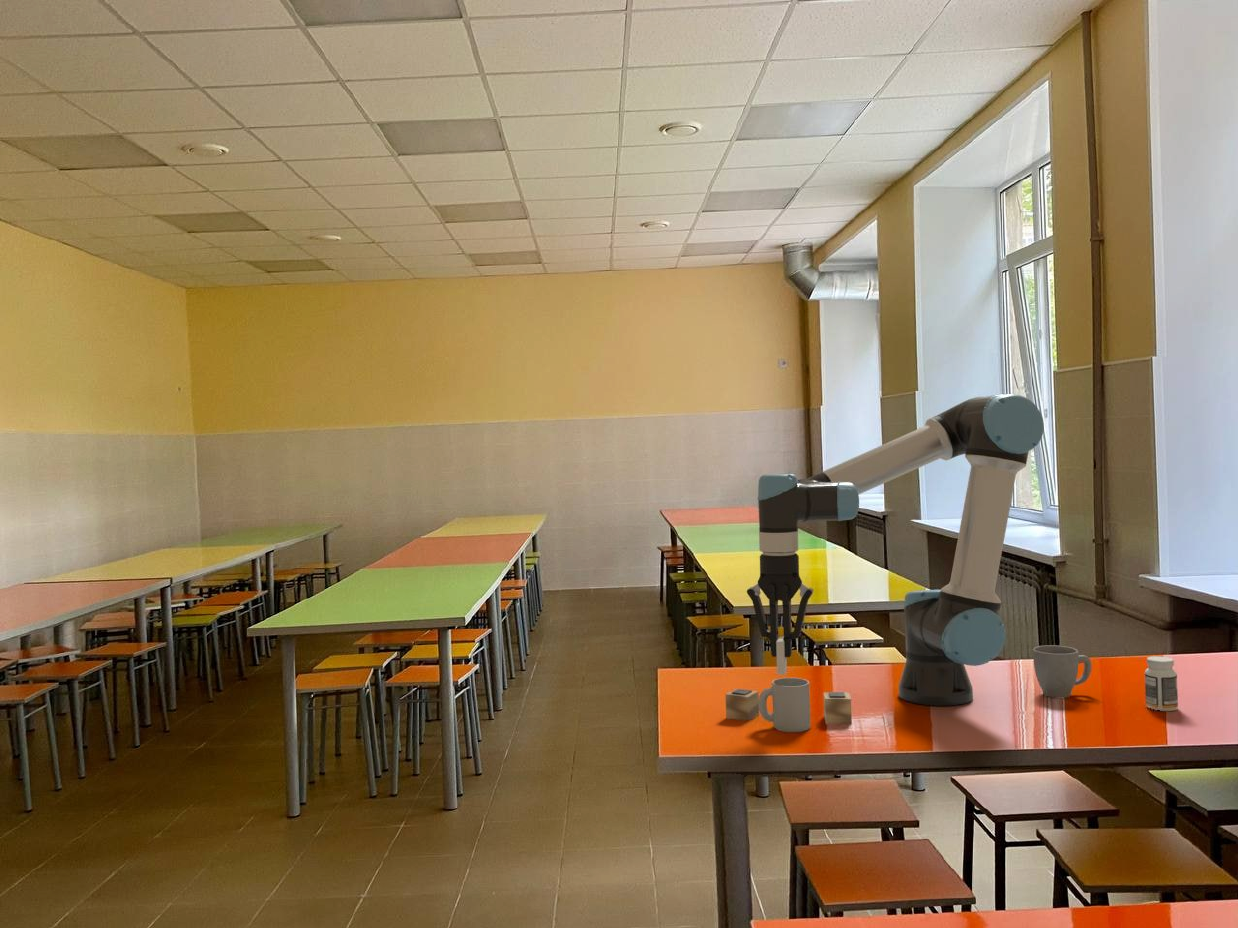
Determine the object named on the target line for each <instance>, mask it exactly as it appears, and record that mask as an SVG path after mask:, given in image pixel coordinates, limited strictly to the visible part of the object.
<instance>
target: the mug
mask: <svg viewBox="0 0 1238 928" xmlns="http://www.w3.org/2000/svg"><path fill="white" fill-rule="evenodd" d="M1032 657H1033V666H1034V667H1033V668H1034V672H1035V677H1036V681H1037V682H1038V684H1039V687H1040V688H1041V692H1042V695H1043V696H1046V697H1050V698H1055V699H1064V698H1065V699H1066V698H1070V697H1071V695H1072V694H1071V693H1072V691H1073V688H1074V687H1075V686H1079V685H1081V684H1083V683H1084V684H1085V683H1086V682H1087V680H1088V679H1089V677H1090V675H1091V673H1092V669H1093V668H1092V661H1091V659H1090V658H1089V656H1087V655H1085V654H1079V651H1078V649H1077V648H1074V647H1070V646H1067V645H1066V646H1065V645H1056V644H1055V645H1054V644H1053V645H1052V644H1051V645H1050V644H1049V645H1048V644H1047V645H1038V646H1035V647H1034V648H1033V650H1032ZM1082 663H1083V664H1084V666H1083V672H1082V674H1081V676H1080V677H1079V678H1078V672H1079V664H1082Z"/></svg>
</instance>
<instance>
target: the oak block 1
mask: <svg viewBox="0 0 1238 928" xmlns="http://www.w3.org/2000/svg"><path fill="white" fill-rule="evenodd" d="M759 696H760V695H759V691H758V690H751V689H742V688H735V689H732V691H729V692H727V693H726V694H725V718H726V719H729V720H736V721H742V722H743V721H744V722H750V721H752V720H753V719H755V718H756V717H758V716H760V712H759V707H758V701H759Z"/></svg>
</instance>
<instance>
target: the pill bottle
mask: <svg viewBox="0 0 1238 928" xmlns="http://www.w3.org/2000/svg"><path fill="white" fill-rule="evenodd" d="M1174 661H1175V660H1174V659H1173V657H1172V658H1171V657H1167V656H1155V655H1154V656H1149V657H1146V665H1147V666H1148V668H1146V669H1145V671H1144V691H1145V692H1144V695H1145V706H1146V708H1148V709H1150V708H1151V709H1150V710H1153V709H1154V710H1153V711H1157V710H1160V711H1159V712H1172V711H1176V710H1178V708H1179V700H1178V698H1179V697H1178V674H1177V671H1175V670H1174V669H1173V667H1174V665H1175V662H1174Z"/></svg>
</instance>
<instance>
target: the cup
mask: <svg viewBox="0 0 1238 928" xmlns="http://www.w3.org/2000/svg"><path fill="white" fill-rule="evenodd" d="M810 695H811V694H810V681H809V680H808V679H804V678H799V677H781V678H776V679H773V680H772V681H771V687H769V686H768V687H767V688H764V689H763V690H762V691H761V692H760V693H759V695H758V696H759V701H758V707H759V715H760V716H761V717H762V718H763V719H764V720H765V721H768V722H770V723H773V724H772V725H773V727H774V729H775V730H777V731H780V732H783V733H802V732H806V731H809V730H810V728H811V700H810V699H811V698H810V697H811V696H810ZM771 696H772V699H771V700H772V713H770V712H769V710H768V707H767V701H768V697H771Z"/></svg>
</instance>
